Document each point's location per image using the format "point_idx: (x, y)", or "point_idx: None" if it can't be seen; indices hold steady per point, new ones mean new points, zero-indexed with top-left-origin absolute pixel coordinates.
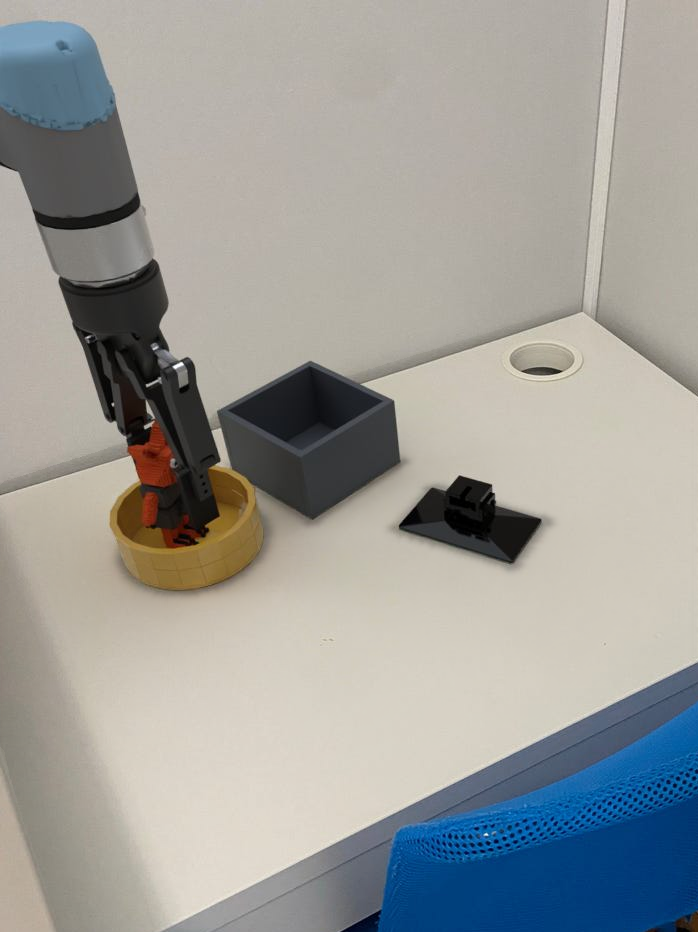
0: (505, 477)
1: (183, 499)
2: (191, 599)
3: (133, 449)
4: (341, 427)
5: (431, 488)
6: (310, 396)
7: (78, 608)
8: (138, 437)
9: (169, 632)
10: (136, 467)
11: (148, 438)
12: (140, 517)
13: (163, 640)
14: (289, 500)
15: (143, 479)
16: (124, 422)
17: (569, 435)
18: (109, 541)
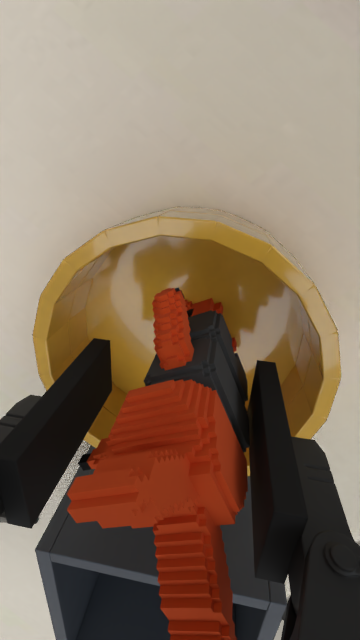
0: (6, 551)
1: (73, 384)
2: (79, 230)
3: (110, 501)
4: (58, 610)
5: (35, 522)
6: (236, 624)
7: (232, 57)
8: (270, 536)
9: (35, 144)
10: (281, 422)
11: (260, 535)
12: (305, 325)
13: (24, 121)
14: None
15: (164, 391)
16: (301, 624)
17: (17, 602)
18: (338, 252)
